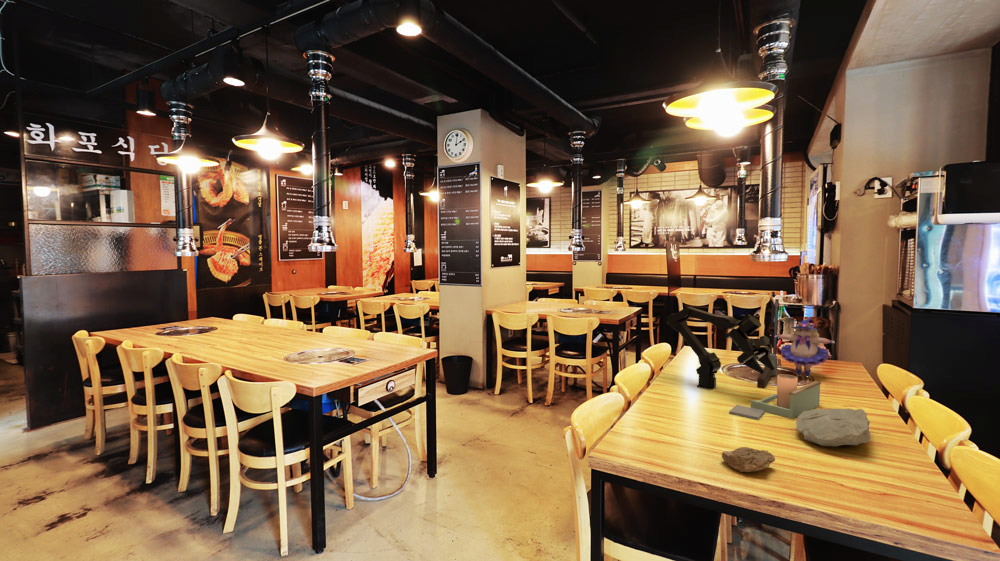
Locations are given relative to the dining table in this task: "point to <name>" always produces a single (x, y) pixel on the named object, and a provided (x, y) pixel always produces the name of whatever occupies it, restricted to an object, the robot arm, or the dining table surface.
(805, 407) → the cold frame
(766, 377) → the hammer
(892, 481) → the dining table surface
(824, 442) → the stone
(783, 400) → the pink cup
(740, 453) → the rock
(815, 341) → the toy
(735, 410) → the metal tile
